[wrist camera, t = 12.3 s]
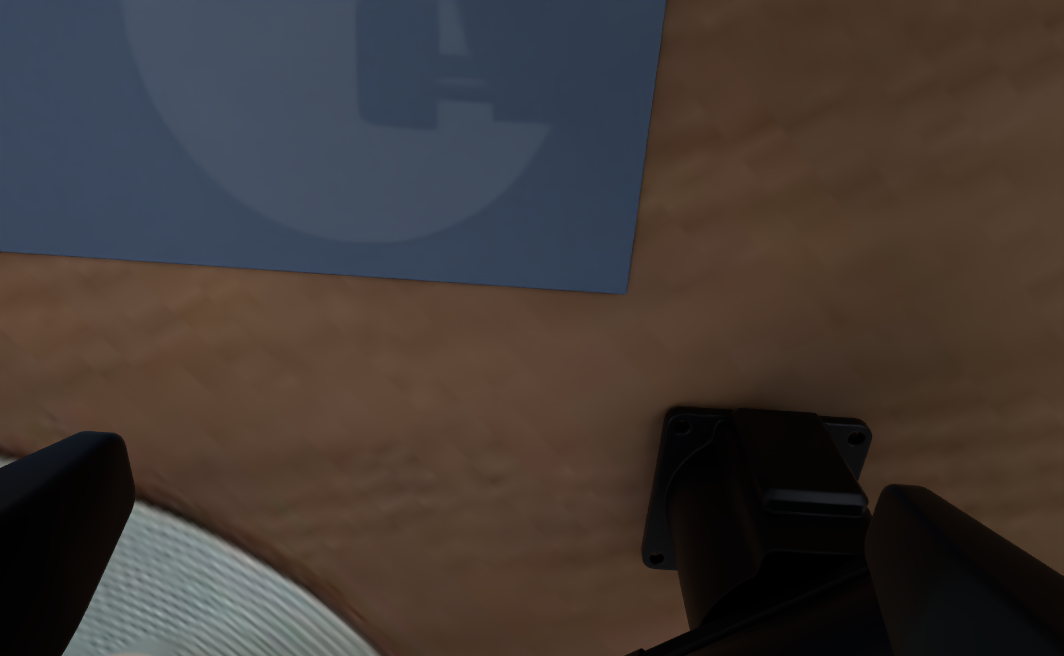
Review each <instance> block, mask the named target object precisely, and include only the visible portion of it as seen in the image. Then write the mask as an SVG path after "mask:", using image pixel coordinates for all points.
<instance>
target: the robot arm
mask: <svg viewBox="0 0 1064 656" xmlns="http://www.w3.org/2000/svg"><path fill="white" fill-rule="evenodd" d="M681 420H684V421H687V423H686V424H685V425H684V426H680V427H678V426H675V423H677V422H678V421H681ZM854 432H859V433H858V435H857V436H855V437H853V438H848V437H849V435H850V434H852V433H854ZM871 440H872V433H871V431H870V429H869V428H868V426H867V425H866V423H865V422H863V421H862V420H860V419H856V418H843V417H829V416H818V415H817V414H816V413H808V412H793V411H778V410H763V409H748V408H739V409H737V410H724V409H709V408H694V407H676V408H674V409H671V410H670V411H669V412H668V413H667V414H666V416H665V418H664V424H663V429H662V435H661V441H660V446H659V452H658V458H657V463H656V469H655V475H654V480H653V486H652V491H651V497H650V503H649V508H648V514H647V520H646V525H645V531H644V537H643V542H642V548H641V551H642V559H643V562H644V564H645V565H646V566H647V567H649V568H653V569H663V570H677V571H678V576H679V580H680V585H681V590H682V595H683V600H684V604H685V609H686V614H687V619H688V623H689V628H690V631H689V632H686V633H684V634H682V635H680V636H677V637H675V638H673V639H671V640H668V641H666V642H664V643H662V644H659V645H657V646H655V647H653V648H650V649H648V650H646V651H645V650H643V649H642V648H641V649H638V650H636V651H634V652H632V653H629V654H627V655H625V656H1064V576H1063V575H1061V574H1059V573H1058V572H1056V571H1055V570H1053V569H1052V568H1050V567H1049V566H1047V565H1045V564H1044V563H1042V562H1041V561H1039V560H1038V559H1036V558H1035V557H1033V556H1031V555H1030V554H1028V553H1027V552H1025V551H1024V550H1022V549H1020V548H1019V547H1017V546H1016V545H1014V544H1013V543H1011V542H1010V541H1008V540H1006V539H1005V538H1003V537H1002V536H1000V535H999V534H997V533H996V532H994V531H992V530H991V529H989V528H988V527H986V526H985V525H983V524H982V523H980V522H978V521H977V520H975V519H974V518H972V517H971V516H969V515H968V514H966V513H964V512H963V511H961V510H960V509H958V508H957V507H955V506H953V505H952V504H950V503H949V502H947V501H946V500H944V499H943V498H941V497H939V496H938V495H936V494H935V493H933V492H932V491H930V490H929V489H927V488H925V487H922V486H916V485H901V484H890V485H888V486H886V487H885V488H884V489H883V490H882V492H881V494H880V496H879V499H878V502H877V505H876V508H875V510H874V513H873V516H872V514H871V513H870V511H869V509H868V507H867V505H868V503H869V501H868V498H867V496H866V494H865V493H864V491H863V489H862V487H861V486H860V484H859V482H858V479H859V476H860V473H861V470H862V467H863V464H864V461H865V458H866V455H867V452H868V449H869V446H870V443H871ZM134 502H135V485H134V480H133V476H132V471H131V467H130V462H129V458H128V453H127V449H126V445H125V442H124V440H123V438H122V437H121V436H120V435H118V434H116V433H109V432H94V431H83V432H79V433H77V434H74V435H72V436H70V437H68V438H66V439H63V440H61V441H59V442H57V443H54V444H52V445H50V446H48V447H46V448H43V449H41V450H39V451H37V452H35V453H32V454H30V455H28V456H26V457H23V458H21V459H19V460H17V461H15V462H12V463H10V464H8V465H6V466H3V467H1V468H0V656H62V654H63V653H64V651H65V649H66V648H67V646H68V644H69V642H70V640H71V639H72V637H73V635H74V633H75V631H76V630H77V628H78V626H79V624H80V622H81V620H82V618H83V616H84V614H85V612H86V610H87V608H88V606H89V604H90V601H91V599H92V597H93V595H94V593H95V591H96V588H97V586H98V584H99V582H100V580H101V577H102V575H103V573H104V571H105V569H106V566H107V564H108V562H109V560H110V558H111V555H112V553H113V551H114V549H115V547H116V544H117V542H118V540H119V538H120V536H121V534H122V531H123V529H124V527H125V525H126V523H127V520H128V518H129V516H130V514H131V512H132V509H133V506H134ZM654 553H661V554H659V555H655V556H654V555H652V554H654Z"/></svg>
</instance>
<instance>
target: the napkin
mask: <svg viewBox="0 0 1064 656" xmlns="http://www.w3.org/2000/svg"><path fill="white" fill-rule="evenodd" d="M665 8H666V0H0V251H1V252H16V253H30V254H45V255H59V256H74V257H88V258H103V259H117V260H132V261H146V262H161V263H175V264H190V265H204V266H219V267H234V268H248V269H263V270H277V271H292V272H306V273H321V274H335V275H350V276H364V277H379V278H393V279H408V280H422V281H437V282H452V283H466V284H481V285H495V286H510V287H524V288H539V289H553V290H568V291H582V292H597V293H611V294H626V293H627V286H628V279H629V271H630V264H631V257H632V249H633V242H634V235H635V227H636V220H637V213H638V205H639V198H640V191H641V183H642V176H643V169H644V161H645V154H646V147H647V140H648V132H649V125H650V118H651V110H652V103H653V96H654V88H655V81H656V74H657V66H658V59H659V52H660V44H661V37H662V30H663V22H664V15H665Z"/></svg>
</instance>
